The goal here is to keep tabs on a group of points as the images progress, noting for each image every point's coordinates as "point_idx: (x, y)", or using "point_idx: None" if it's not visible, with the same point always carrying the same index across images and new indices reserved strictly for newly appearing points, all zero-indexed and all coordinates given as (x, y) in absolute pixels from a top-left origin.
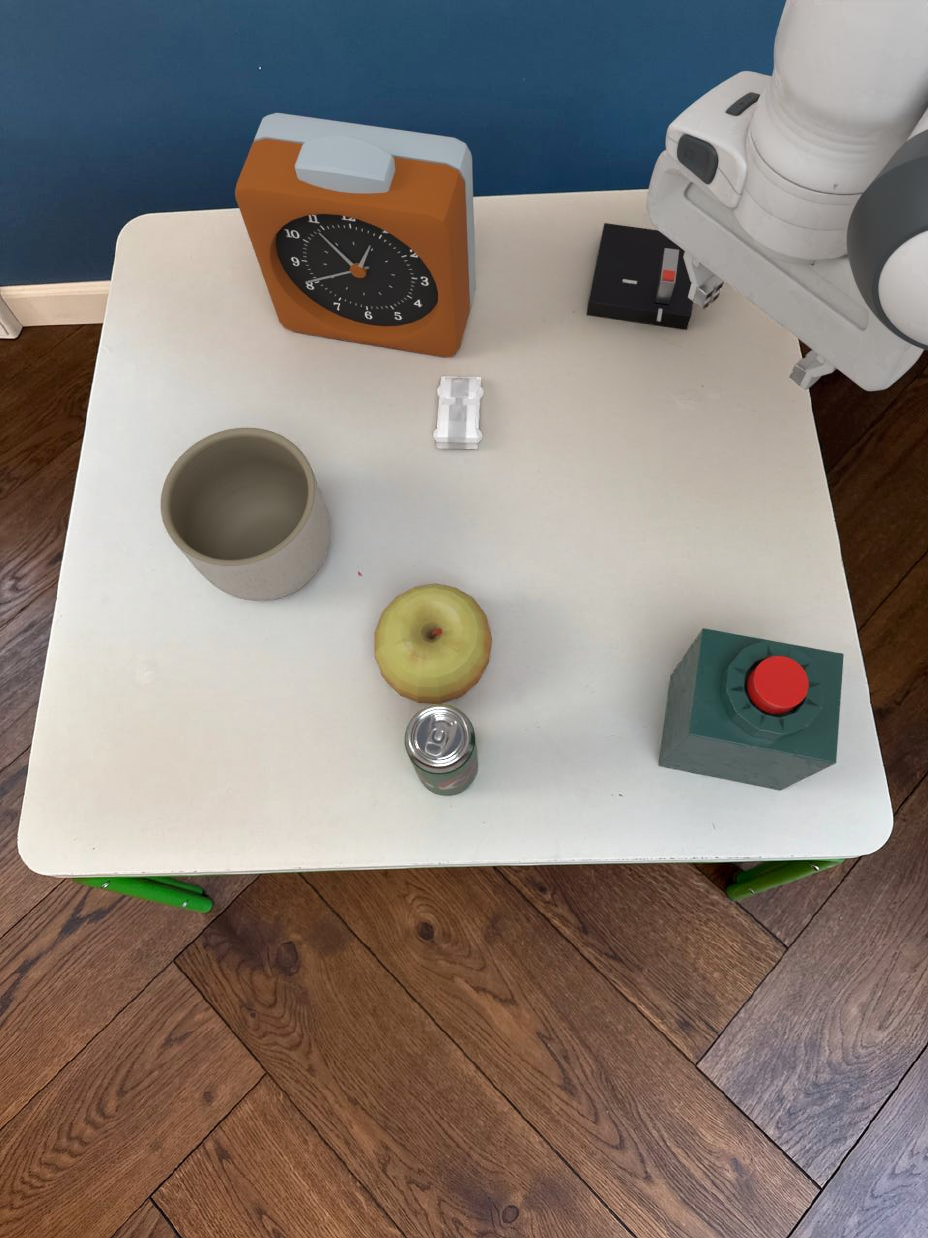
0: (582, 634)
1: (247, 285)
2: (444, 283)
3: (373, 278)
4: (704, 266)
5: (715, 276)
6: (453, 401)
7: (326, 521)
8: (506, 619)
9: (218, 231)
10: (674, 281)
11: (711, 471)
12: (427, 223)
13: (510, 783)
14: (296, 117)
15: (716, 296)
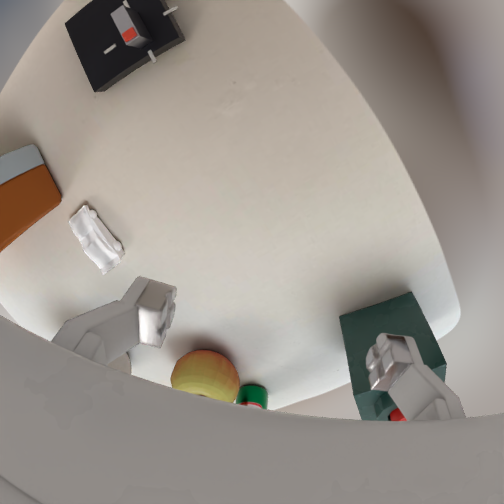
0: (274, 321)
1: None
2: (6, 242)
3: None
4: (113, 339)
5: (142, 312)
6: (86, 240)
7: (110, 365)
8: (227, 333)
9: None
10: (138, 35)
11: (292, 160)
12: None
13: (284, 386)
14: None
15: (173, 297)
